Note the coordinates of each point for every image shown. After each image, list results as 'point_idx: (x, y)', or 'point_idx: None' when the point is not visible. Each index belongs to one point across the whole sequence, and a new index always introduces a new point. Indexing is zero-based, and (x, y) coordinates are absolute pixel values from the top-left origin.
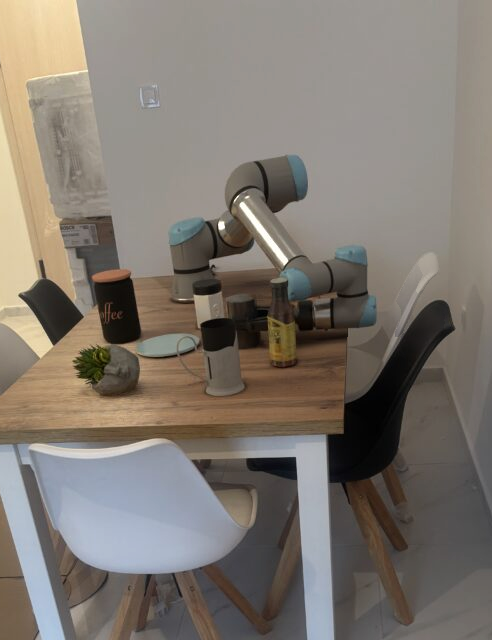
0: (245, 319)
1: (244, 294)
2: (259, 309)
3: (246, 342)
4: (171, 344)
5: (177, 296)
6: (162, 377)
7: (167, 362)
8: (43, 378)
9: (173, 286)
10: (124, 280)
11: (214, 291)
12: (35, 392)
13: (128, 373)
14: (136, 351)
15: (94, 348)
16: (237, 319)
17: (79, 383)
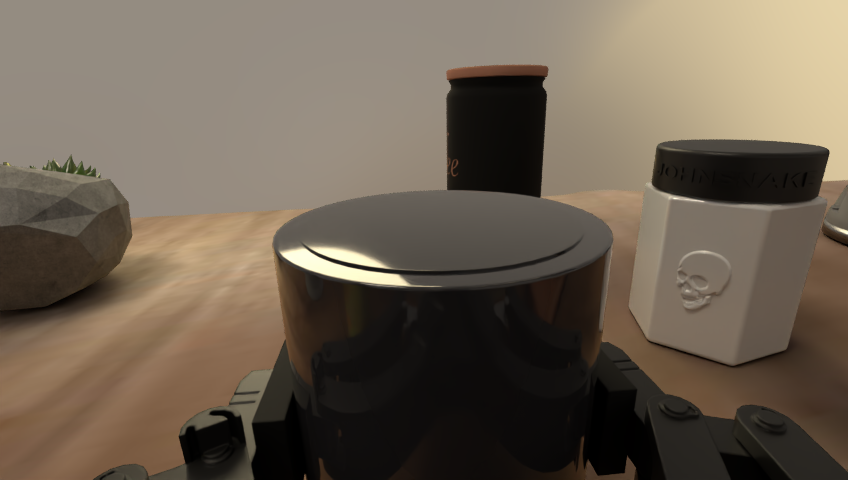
0: (255, 416)
1: (559, 217)
2: (659, 459)
3: None
4: None
5: (829, 216)
6: (82, 344)
7: (254, 322)
8: (262, 218)
9: (844, 189)
10: (483, 82)
11: (716, 188)
12: (183, 225)
13: None
14: None
15: (62, 168)
16: (283, 363)
17: (191, 246)
